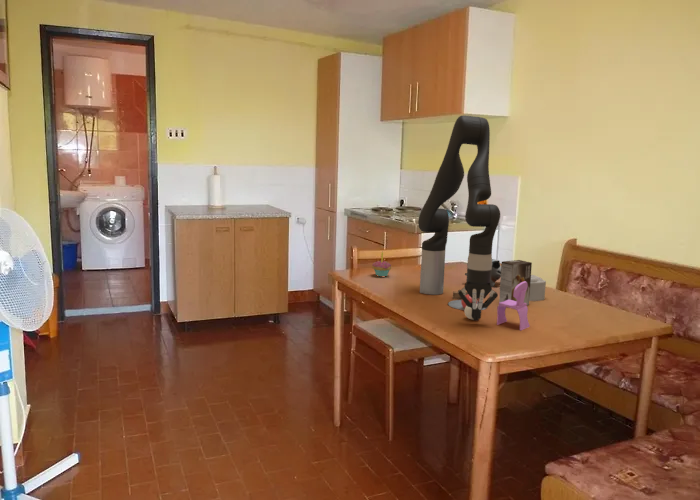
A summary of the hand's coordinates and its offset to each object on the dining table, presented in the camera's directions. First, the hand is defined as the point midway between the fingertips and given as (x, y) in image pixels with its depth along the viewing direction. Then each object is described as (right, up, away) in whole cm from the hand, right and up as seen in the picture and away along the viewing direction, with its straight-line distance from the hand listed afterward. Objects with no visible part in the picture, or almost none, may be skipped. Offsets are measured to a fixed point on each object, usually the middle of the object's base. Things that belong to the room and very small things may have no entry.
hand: (476, 319), depth 176 cm
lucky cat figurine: (+17, +8, +57) cm, 60 cm away
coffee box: (+20, +2, +25) cm, 32 cm away
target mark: (+2, +2, +23) cm, 23 cm away
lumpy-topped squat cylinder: (+27, +4, +36) cm, 46 cm away
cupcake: (-27, +10, +68) cm, 73 cm away
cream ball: (0, +2, +5) cm, 6 cm away
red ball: (+1, +4, +17) cm, 17 cm away
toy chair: (+12, -2, 0) cm, 12 cm away
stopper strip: (+3, +4, +32) cm, 32 cm away
